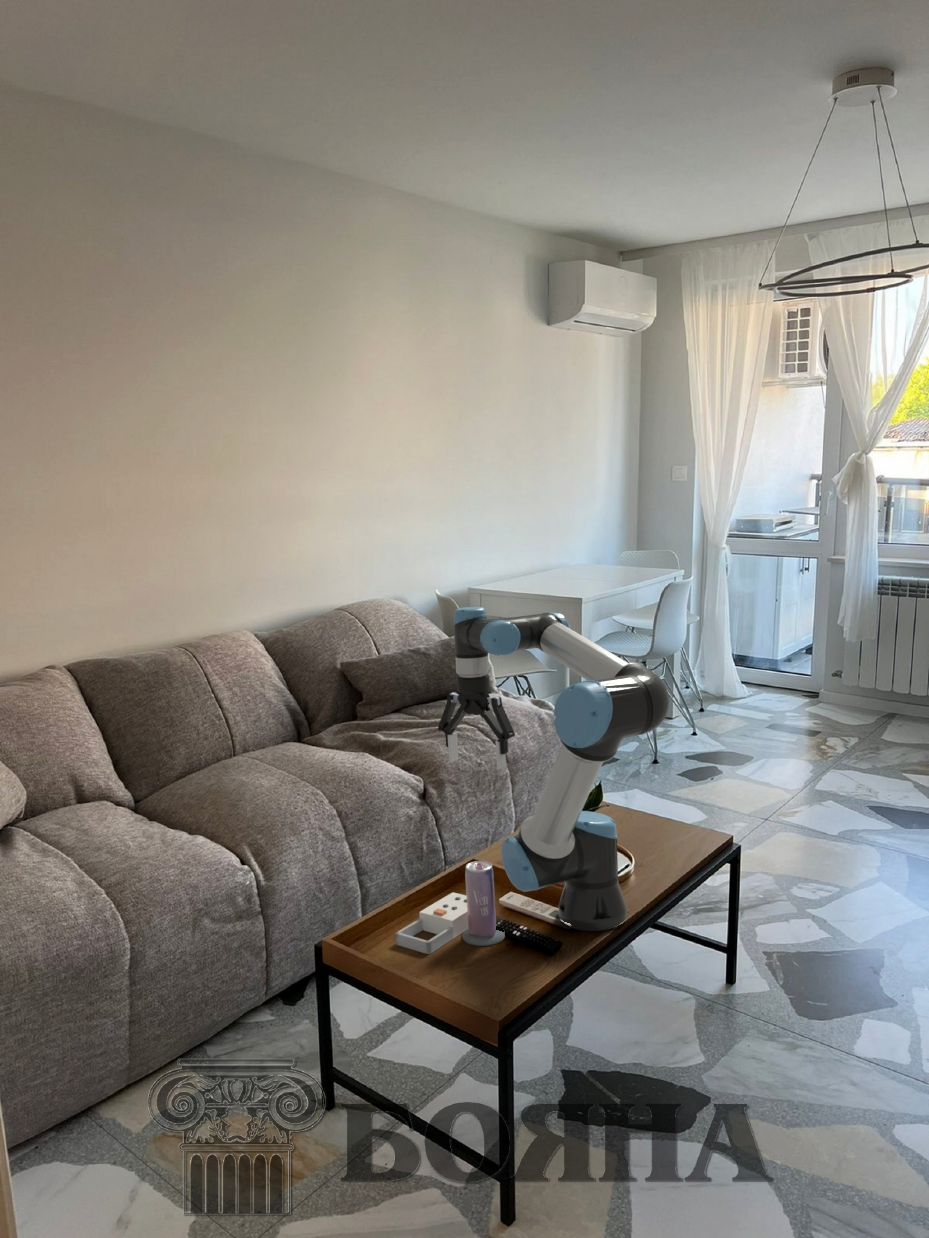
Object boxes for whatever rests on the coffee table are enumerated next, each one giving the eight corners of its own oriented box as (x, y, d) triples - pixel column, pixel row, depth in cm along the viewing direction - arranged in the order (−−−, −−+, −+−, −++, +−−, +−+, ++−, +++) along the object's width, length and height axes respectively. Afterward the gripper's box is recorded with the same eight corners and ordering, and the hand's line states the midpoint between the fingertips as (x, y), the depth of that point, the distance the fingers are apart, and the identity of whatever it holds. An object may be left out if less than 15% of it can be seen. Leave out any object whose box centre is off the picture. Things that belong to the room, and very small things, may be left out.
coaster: (512, 932, 202) (512, 930, 202) (488, 949, 195) (488, 946, 195) (478, 923, 207) (478, 921, 207) (454, 939, 200) (454, 937, 200)
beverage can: (495, 926, 204) (491, 859, 202) (497, 938, 198) (493, 870, 197) (468, 928, 204) (464, 861, 202) (469, 940, 198) (465, 872, 196)
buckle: (471, 898, 221) (470, 879, 221) (503, 905, 216) (502, 886, 215) (395, 944, 199) (394, 923, 199) (429, 954, 194) (427, 933, 194)
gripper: (527, 674, 212) (531, 766, 215) (439, 668, 227) (444, 754, 229) (509, 680, 206) (513, 774, 209) (420, 673, 221) (425, 761, 223)
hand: (477, 764), depth 219 cm, fingers open, 13 cm apart
